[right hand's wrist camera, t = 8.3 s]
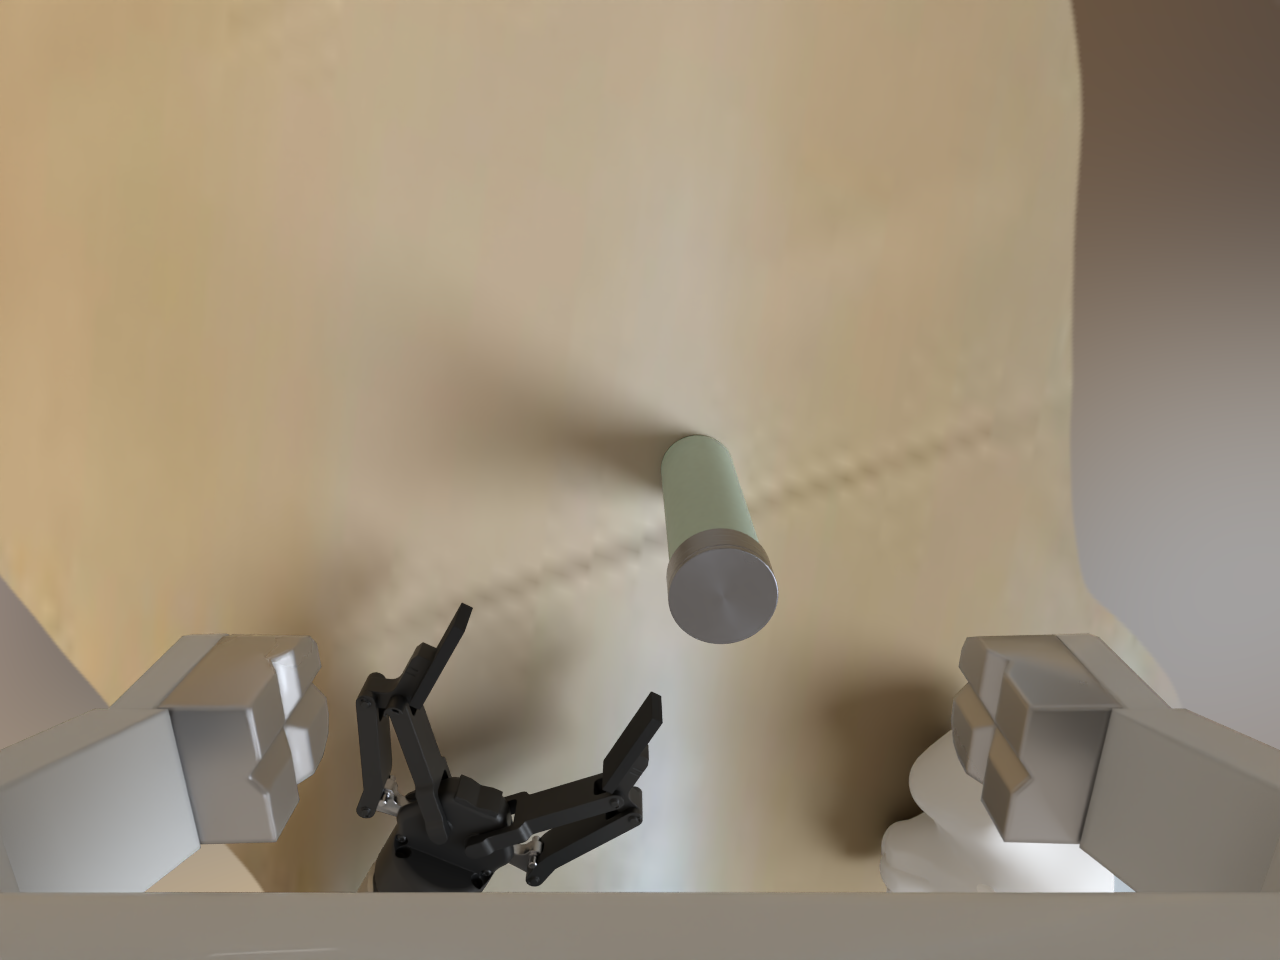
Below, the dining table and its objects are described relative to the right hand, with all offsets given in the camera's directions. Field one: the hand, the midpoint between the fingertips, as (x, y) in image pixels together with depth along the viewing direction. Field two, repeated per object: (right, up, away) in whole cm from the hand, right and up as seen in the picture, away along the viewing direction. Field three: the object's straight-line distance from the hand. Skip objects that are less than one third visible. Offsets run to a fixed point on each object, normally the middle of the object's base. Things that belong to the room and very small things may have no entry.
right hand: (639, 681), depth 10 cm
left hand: (-5, -9, +40) cm, 42 cm away
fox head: (+25, -23, +54) cm, 64 cm away
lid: (+4, -3, +28) cm, 28 cm away
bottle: (+4, +3, +43) cm, 43 cm away
